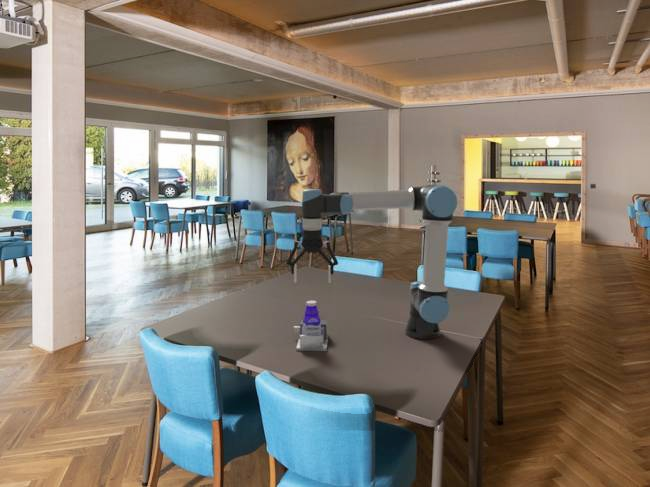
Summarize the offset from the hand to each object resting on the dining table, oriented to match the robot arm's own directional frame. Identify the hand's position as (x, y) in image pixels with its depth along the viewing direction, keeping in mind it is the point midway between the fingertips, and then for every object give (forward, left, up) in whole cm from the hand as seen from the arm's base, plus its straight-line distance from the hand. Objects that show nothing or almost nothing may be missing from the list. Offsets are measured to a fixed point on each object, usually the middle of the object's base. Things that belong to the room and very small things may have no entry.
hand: (312, 282), depth 193 cm
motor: (+1, -9, -26) cm, 28 cm away
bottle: (0, 0, -26) cm, 26 cm away
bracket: (0, 0, -26) cm, 26 cm away
